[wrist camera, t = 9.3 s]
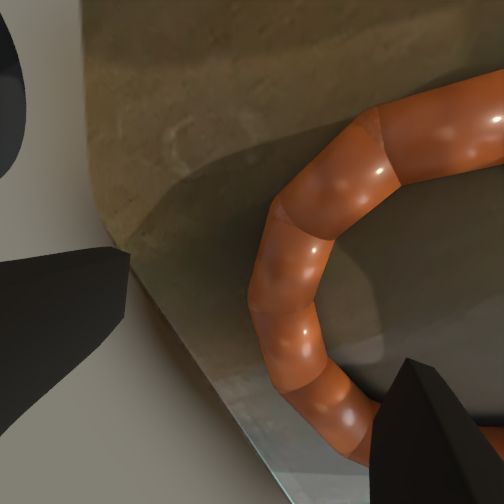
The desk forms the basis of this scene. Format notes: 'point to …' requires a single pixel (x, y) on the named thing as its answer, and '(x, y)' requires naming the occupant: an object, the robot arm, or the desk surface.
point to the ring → (344, 216)
